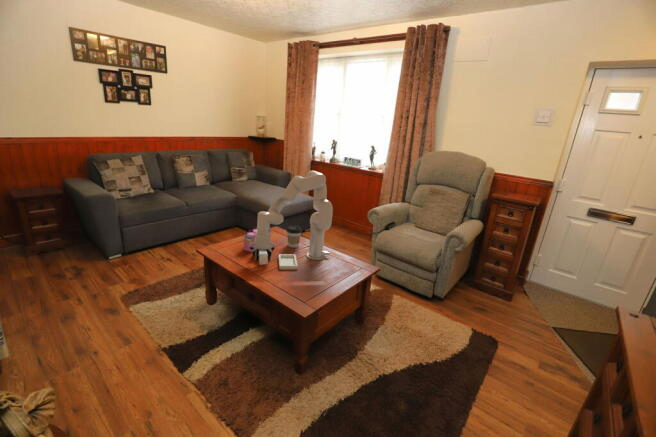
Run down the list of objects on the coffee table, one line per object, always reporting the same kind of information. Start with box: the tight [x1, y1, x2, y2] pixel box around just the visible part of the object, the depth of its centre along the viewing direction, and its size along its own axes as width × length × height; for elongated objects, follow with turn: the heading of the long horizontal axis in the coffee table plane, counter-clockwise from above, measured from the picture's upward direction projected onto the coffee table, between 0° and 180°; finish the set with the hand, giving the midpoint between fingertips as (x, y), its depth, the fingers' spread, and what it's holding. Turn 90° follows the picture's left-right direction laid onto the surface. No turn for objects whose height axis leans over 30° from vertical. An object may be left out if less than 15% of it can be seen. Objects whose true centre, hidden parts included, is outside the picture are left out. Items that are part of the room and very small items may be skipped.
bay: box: [254, 249, 272, 261], centre depth 210 cm, size 10×9×8 cm
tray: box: [278, 253, 299, 271], centre depth 205 cm, size 11×18×2 cm, turn 11°
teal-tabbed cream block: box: [257, 249, 269, 266], centre depth 206 cm, size 5×13×6 cm, turn 16°
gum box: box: [243, 226, 257, 253], centre depth 227 cm, size 22×7×13 cm, turn 162°
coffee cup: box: [286, 225, 303, 249], centre depth 231 cm, size 11×11×15 cm
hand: (261, 256), depth 200 cm, fingers open, 9 cm apart
